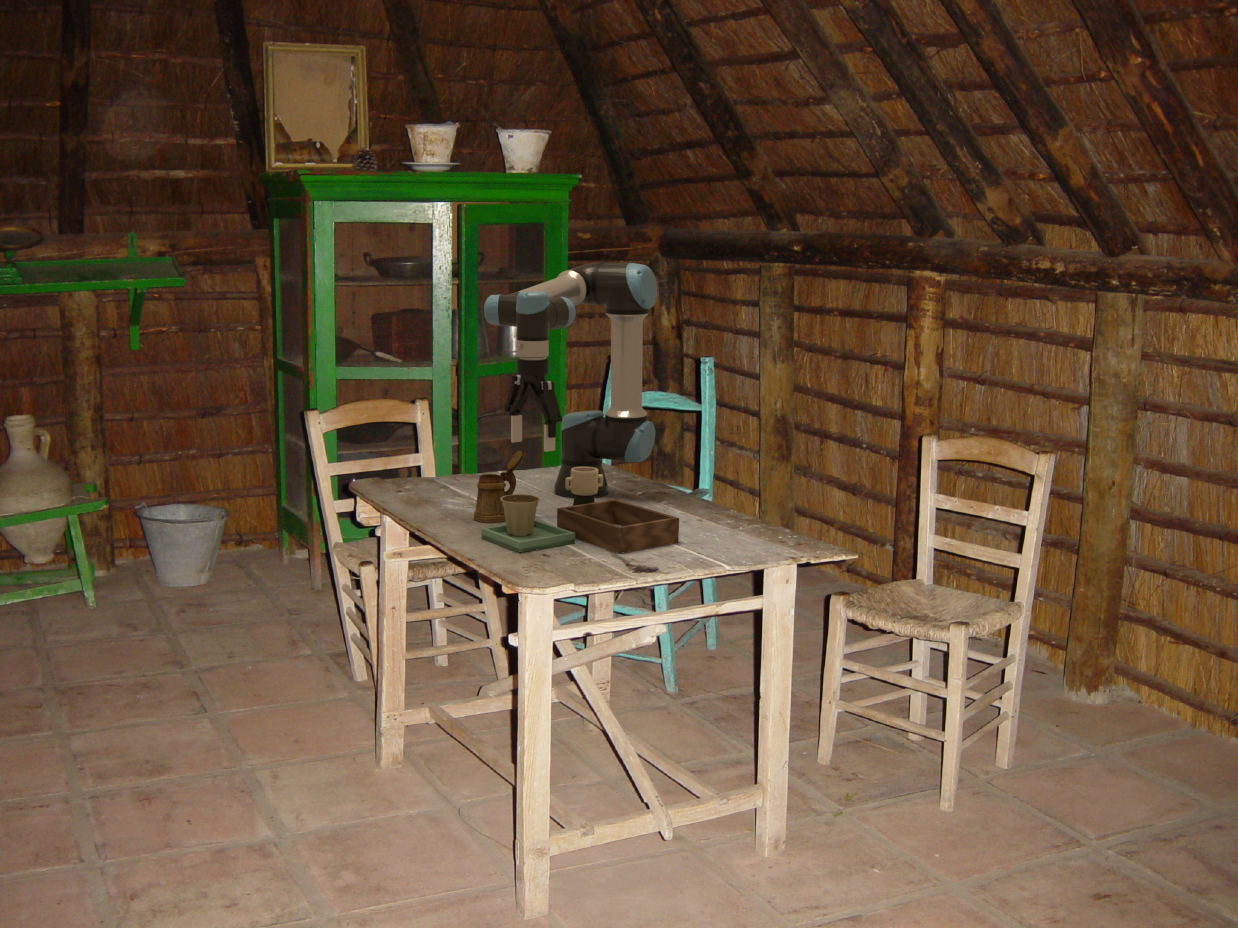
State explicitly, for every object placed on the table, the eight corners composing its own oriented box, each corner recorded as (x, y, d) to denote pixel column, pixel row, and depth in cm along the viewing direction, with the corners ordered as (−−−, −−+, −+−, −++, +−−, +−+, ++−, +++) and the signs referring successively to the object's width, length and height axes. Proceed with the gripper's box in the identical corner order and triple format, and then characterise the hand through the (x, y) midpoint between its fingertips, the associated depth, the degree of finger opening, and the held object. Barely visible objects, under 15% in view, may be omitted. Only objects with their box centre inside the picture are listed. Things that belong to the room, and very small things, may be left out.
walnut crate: (615, 522, 310) (615, 499, 308) (678, 542, 291) (679, 518, 290) (556, 531, 298) (557, 508, 297) (618, 553, 280) (619, 528, 278)
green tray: (536, 529, 300) (536, 519, 300) (574, 543, 288) (575, 532, 287) (481, 538, 290) (481, 528, 290) (519, 553, 278) (519, 542, 278)
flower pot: (509, 539, 286) (509, 504, 284) (493, 530, 294) (494, 495, 292) (545, 536, 290) (546, 501, 288) (529, 527, 298) (530, 493, 296)
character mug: (595, 513, 319) (596, 464, 316) (608, 519, 313) (609, 469, 310) (558, 517, 313) (559, 468, 311) (571, 523, 307) (572, 473, 305)
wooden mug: (530, 520, 309) (530, 451, 306) (478, 523, 304) (479, 453, 301) (519, 512, 318) (520, 445, 314) (469, 516, 312) (469, 447, 309)
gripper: (490, 353, 292) (490, 439, 296) (551, 364, 273) (550, 456, 278) (515, 351, 297) (516, 436, 301) (577, 362, 278) (576, 452, 282)
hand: (532, 446), depth 289 cm, fingers open, 13 cm apart
